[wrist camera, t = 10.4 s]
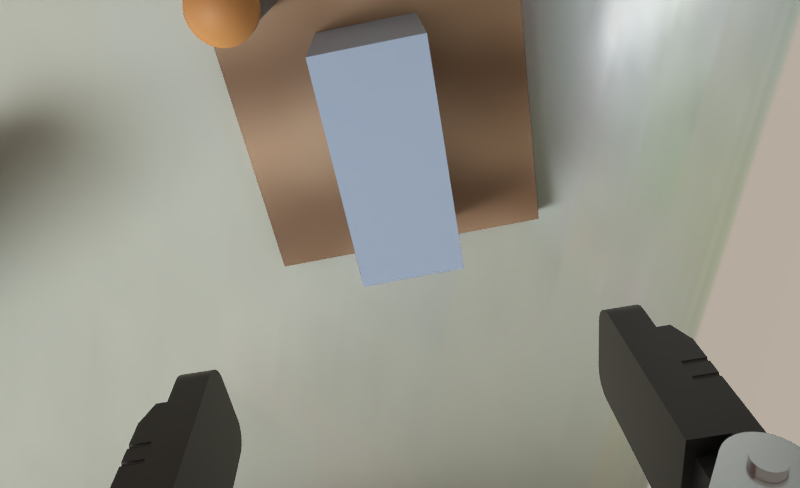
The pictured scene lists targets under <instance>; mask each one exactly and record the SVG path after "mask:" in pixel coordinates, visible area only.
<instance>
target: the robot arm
mask: <svg viewBox="0 0 800 488" xmlns="http://www.w3.org/2000/svg"><path fill="white" fill-rule="evenodd" d="M599 374H600V380H601V385H602V388H603V391H604V394H605V397H606V399H607V401H608V403H609V405H610V407H611V409H612V411H613V413H614V415H615V417H616V419H617V421H618V423H619V425H620V426H621V428H622V430H623V432H624V434H625V436H626V438H627V440H628V442H629V444H630V446H631V448H632V450H633V452H634V454H635V456H636V458H637V460H638V462H639V464H640V466H641V468H642V470H643V472H644V474H645V476H646V478H647V480H648V482H649V484H650V486H651V488H800V447H799V446H797V445H796V444H794V443H792V442H790V441H788V440H786V439H784V438H782V437H779V436H776V435H772V434H768V433H766V432H765V431H764V429H763V428H762V427H761V425H760V424H759V423H758V422H757V420H756V419H755V418H754V417H753V415H752V414H751V413H750V411H749V410H748V409H747V408H746V406H745V405H744V404H743V402H742V401H741V400H740V399H739V397H738V396H737V395H736V394H735V392H734V391H733V390H732V388H731V387H730V386H729V385H728V383H727V382H726V381H725V379H724V378H723V377H722V376H720V375H719V372H718V371H717V369H716V368H715V367H714V365H713V364H712V363H711V362H710V361H708V360H707V356H706V355H705V354H704V353H703V351H702V350H701V349H700V347H699V346H698V345H697V344H696V342H695V341H694V340H693V339H692V338H690V337H689V336H687V335H686V334H684V333H682V332H681V331H679V330H678V329H676V328H674V327H673V326H671V325H667V326H660V327H656V326H655V325H654V323H653V322H652V321H651V319H650V318H649V316H648V315H647V314H646V312H645V311H644V309H643V308H642V307H641V306H640V305H632V306H626V307H619V308H613V309H607V310H602V311H601V312H600V316H599ZM240 453H241V431H240V426H239V422H238V419H237V417H236V414H235V411H234V409H233V406H232V403H231V401H230V398H229V396H228V393H227V390H226V388H225V385H224V382H223V380H222V377H221V375H220V373H219V372H218V371H217V370H210V371H204V372H197V373H191V374H185V375H180V376H179V377H178V378H177V379H176V382H175V384H174V387H173V389H172V392H171V394H170V397H169V399H168V402H165V403H158V404H155V406H154V407H153V408H152V409H151V410H150V411H149V412H148V413H147V415H146V416H145V417H144V418H143V419H142V420H141V421H140V422H139V423H138V425H137V428H136V430H135V432H134V435H133V437H132V439H131V441H130V444H129V449H127V451H126V453H125V455H124V457H123V460H122V462H121V463H122V466H121V467H119V469H118V471H117V474H116V476H115V478H114V480H113V483H112V485H111V487H110V488H233V485H234V481H235V476H236V472H237V467H238V463H239V458H240Z"/></svg>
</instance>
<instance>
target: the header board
mask: <svg viewBox="0 0 800 488" xmlns="http://www.w3.org/2000/svg"><path fill="white" fill-rule="evenodd" d="M415 12H416V13H417V15H418V17H419V18H420V20H421V22H422V24H423V26H424V28H425V30H426V32H427V36H428V43H429V49H430V55H431V62H432V68H433V75H434V81H435V87H436V94H437V100H438V106H439V113H440V119H441V126H442V132H443V138H444V145H445V151H446V158H447V164H448V170H449V177H450V183H451V189H452V196H453V202H454V209H455V215H456V221H457V228H458V234H459V233H465V232H470V231H475V230H481V229H486V228H491V227H497V226H502V225H507V224H513V223H518V222H523V221H529V220H534V219H539V217H538V205H537V193H536V181H535V169H534V157H533V145H532V133H531V121H530V109H529V97H528V85H527V73H526V61H525V49H524V37H523V24H522V12H521V0H183V13H184V17H185V20H186V22H187V24H188V26H189V28H190V29H191V31H192V32H193V33H194V34H195V35H196V36H197V37H198V38H199V39H200V40H202V41H203V42H205V43H206V44H208V45H211V46H213V47H214V49H215V52H216V55H217V58H218V61H219V64H220V67H221V70H222V74H223V77H224V80H225V83H226V86H227V89H228V92H229V95H230V98H231V101H232V104H233V108H234V111H235V114H236V117H237V120H238V123H239V126H240V129H241V132H242V135H243V138H244V141H245V145H246V148H247V151H248V154H249V157H250V160H251V163H252V166H253V169H254V172H255V175H256V179H257V182H258V185H259V188H260V191H261V194H262V197H263V200H264V203H265V206H266V209H267V213H268V216H269V219H270V222H271V225H272V228H273V231H274V234H275V237H276V240H277V243H278V247H279V250H280V253H281V256H282V259H283V262H284V265H285V266H289V265H295V264H300V263H305V262H311V261H316V260H321V259H327V258H332V257H337V256H342V255H348V254H353V253H355V250H354V246H353V242H352V238H351V234H350V230H349V227H348V223H347V219H346V215H345V211H344V207H343V203H342V199H341V195H340V191H339V187H338V183H337V179H336V175H335V172H334V168H333V164H332V160H331V156H330V152H329V148H328V144H327V140H326V136H325V132H324V128H323V124H322V121H321V117H320V113H319V109H318V105H317V101H316V97H315V93H314V89H313V85H312V81H311V77H310V73H309V69H308V66H307V62H306V58H305V57H306V55H307V52H308V50H309V47H310V44H311V42H312V39H313V37H314V34H315V33H317V32H322V31H327V30H332V29H337V28H342V27H347V26H352V25H357V24H361V23H366V22H371V21H376V20H381V19H386V18H391V17H396V16H401V15H406V14H410V13H415Z"/></svg>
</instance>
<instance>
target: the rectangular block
mask: <svg viewBox="0 0 800 488" xmlns="http://www.w3.org/2000/svg"><path fill="white" fill-rule="evenodd" d="M305 58H306V62H307V66H308V69H309V73H310V77H311V81H312V85H313V89H314V93H315V97H316V101H317V105H318V109H319V113H320V117H321V121H322V124H323V128H324V132H325V136H326V140H327V144H328V148H329V152H330V156H331V160H332V164H333V168H334V172H335V175H336V179H337V183H338V187H339V191H340V195H341V199H342V203H343V207H344V211H345V215H346V219H347V223H348V227H349V230H350V234H351V238H352V242H353V246H354V250H355V254H356V258H357V262H358V266H359V270H360V274H361V278H362V281H363V285H364V287H365V286H370V285H376V284H381V283H386V282H392V281H397V280H403V279H408V278H413V277H419V276H424V275H430V274H435V273H440V272H446V271H451V270H456V269H462V268H464V266H463V260H462V253H461V247H460V240H459V234H458V228H457V221H456V215H455V209H454V202H453V196H452V189H451V183H450V177H449V170H448V164H447V158H446V151H445V145H444V138H443V132H442V126H441V119H440V113H439V106H438V100H437V94H436V87H435V81H434V75H433V68H432V62H431V55H430V49H429V43H428V36H427V32H426V30H425V28H424V26H423V24H422V22H421V20H420V18H419V17H418V15H417V13H416V12H415V13H410V14H406V15H401V16H396V17H391V18H386V19H381V20H376V21H371V22H366V23H361V24H357V25H352V26H347V27H342V28H337V29H332V30H327V31H322V32H317V33H315V34H314V37H313V39H312V42H311V44H310V47H309V50H308V52H307V55H306V57H305Z"/></svg>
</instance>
